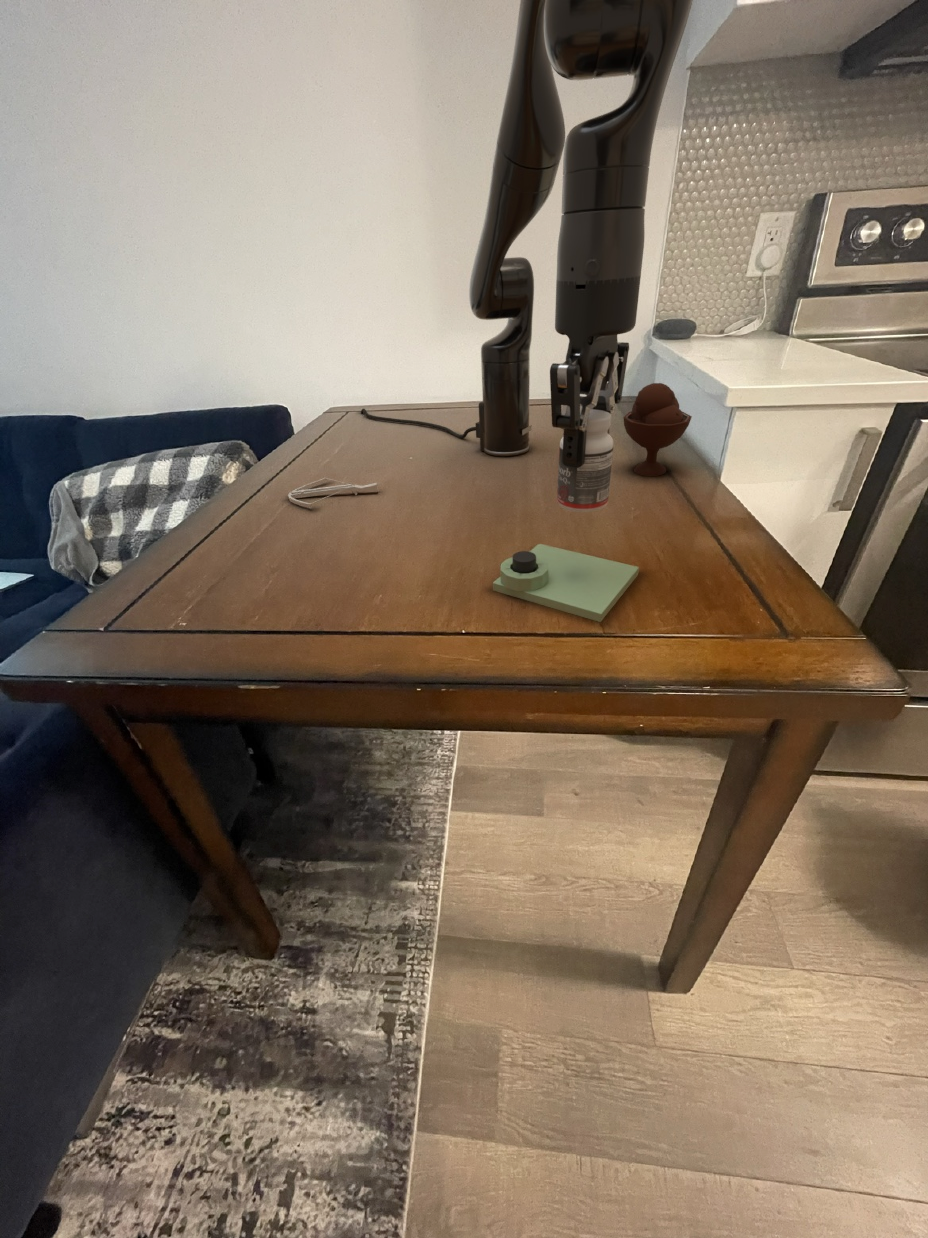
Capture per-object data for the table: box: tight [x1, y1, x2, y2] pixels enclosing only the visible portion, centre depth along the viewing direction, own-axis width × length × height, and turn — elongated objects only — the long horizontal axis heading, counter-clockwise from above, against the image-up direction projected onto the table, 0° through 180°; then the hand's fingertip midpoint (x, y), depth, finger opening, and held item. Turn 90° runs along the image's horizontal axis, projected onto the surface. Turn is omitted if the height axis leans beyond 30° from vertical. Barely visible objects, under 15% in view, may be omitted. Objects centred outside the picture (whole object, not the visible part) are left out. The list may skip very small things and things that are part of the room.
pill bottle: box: [556, 409, 614, 514], centre depth 59 cm, size 6×6×10 cm
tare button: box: [512, 550, 536, 574], centre depth 65 cm, size 3×3×2 cm
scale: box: [492, 543, 640, 623], centre depth 66 cm, size 14×12×3 cm
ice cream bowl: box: [623, 382, 693, 477], centre depth 94 cm, size 11×11×15 cm
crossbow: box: [287, 477, 380, 509], centre depth 96 cm, size 16×13×2 cm
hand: (585, 456), depth 59 cm, fingers closed on pill bottle, 5 cm apart
